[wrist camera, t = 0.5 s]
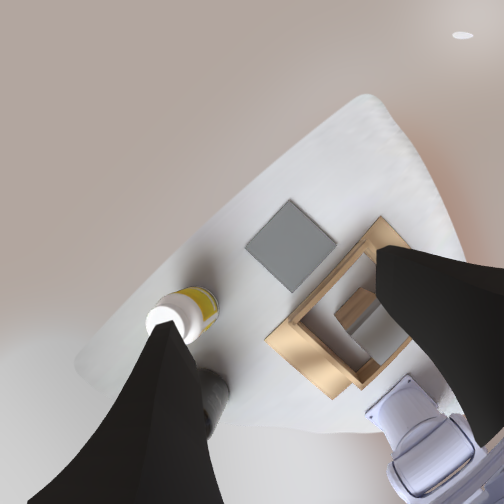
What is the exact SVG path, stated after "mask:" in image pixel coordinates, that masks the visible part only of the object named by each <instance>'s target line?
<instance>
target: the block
mask: <svg viewBox="0 0 504 504" xmlns="http://www.w3.org/2000/svg"><path fill="white" fill-rule="evenodd" d="M334 316H335V317H336V318H337V320H338V321H339V322H340V324H341V325H342V326H343V327H344V329H345V330H346V331H347V333H348V334H349V335H350V337H351V338H352V339H354V340H355V341H356V342H357V343H358V344H359V345H360V346H361V347H362V348H363V349H364V350H365V351H366V352H367V353H368V354H369V355H370V356H371V357H372V358H373V359H374V360H375V361H376V362H377V363H378V364H379V365H380V366H381V365H382V364H383V363H384V362H385V361H386V360H387V359H388V358H389V357H390V356H391V355H392V354H393V353H394V352H395V351H396V350H397V349H398V348H399V347H400V345H401V344H402V343H403V342H404V341H405V340H406V339H407V338H408V337H409V335H408V334H407V333H406V332H405V331H404V330H403V329H402V328H401V327H400V326H399V325H398V324H397V323H396V322H395V321H394V319H393V318H392V317H391V316H390V315H389V314H388V312H387V311H386V310H385V309H384V307H383V306H382V304H381V303H380V302H379V300H378V299H377V297H376V294H375V293H372V292H370V291H368V290H366V289H363V288H361V287H360V288H359V289H358V290H357V291H356V292H355V293H354V294H353V295H352V297H351V298H350V299H349V300H348V301H347V302H346V303H345V304H344V305H343V306H342V307H341V308H340V309H339V310H338V311H337V312H336V313H335V314H334Z"/></svg>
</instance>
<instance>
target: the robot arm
mask: <svg viewBox="0 0 504 504" xmlns="http://www.w3.org/2000/svg"><path fill="white" fill-rule="evenodd" d="M376 297H377V299H378V300H379V302H380V303H381V304H382V306H383V307H384V309H385V310H386V311H387V312H388V314H389V315H390V316H391V317H392V318H393V319H394V321H395V322H396V323H397V324H398V325H399V326H400V327H401V328H402V329H403V330H404V331H405V332H406V333H407V334H408V335H409V336H410V337H411V338H412V339H413V340H414V341H415V342H416V343H417V344H418V345H419V346H420V348H421V349H422V350H423V351H424V352H425V353H426V354H427V355H428V356H429V357H430V359H431V360H432V361H433V362H434V364H435V365H436V367H437V368H438V369H439V371H440V372H441V374H442V375H443V377H444V378H445V380H446V381H447V383H448V385H449V386H450V388H451V389H452V391H453V393H454V394H455V396H456V398H457V400H458V402H459V404H460V406H461V408H462V410H463V412H464V414H465V416H466V418H467V420H466V419H465V418H464V417H463V416H462V415H461V414H459V413H457V414H455V413H452V414H451V415H450V416H449V418H450V419H449V418H448V417H447V416H446V415H445V414H444V413H442V414H441V413H440V412H439V411H438V410H437V408H438V405H437V404H436V403H435V402H434V401H433V400H432V399H431V398H430V396H429V395H428V394H427V393H426V392H425V391H424V390H423V389H422V388H421V387H420V386H419V385H418V384H417V383H416V382H415V381H414V380H413V379H412V378H411V377H410V376H409V375H406V376H405V377H404V378H403V379H402V380H401V381H400V382H399V383H398V384H397V385H396V386H395V387H394V388H393V389H392V390H391V391H390V392H389V393H388V394H387V395H385V396H384V397H383V398H382V399H381V400H380V401H379V402H378V403H377V404H376V405H374V406H373V407H372V408H371V409H370V410H369V411H368V412H366V413H365V417H366V418H367V419H368V420H370V421H371V422H372V423H373V424H375V425H376V426H377V427H378V428H380V429H381V430H382V431H383V432H384V434H385V435H386V438H387V440H388V442H389V444H390V445H391V447H392V450H393V453H392V454H391V456H392V457H393V460H394V461H392V462H390V463H389V464H388V467H387V471H386V472H387V476H388V478H389V481H390V483H391V485H392V486H393V488H394V490H395V491H396V492H397V494H398V495H399V496H400V497H401V498H402V499H403V500H404V501H405V502H406V503H407V504H504V438H503V439H502V440H501V441H500V442H499V443H498V444H497V445H496V446H495V447H494V448H493V449H492V450H491V452H489V453H488V454H487V452H488V451H487V448H486V447H485V445H486V444H487V443H488V442H489V441H490V440H491V439H492V438H493V437H494V436H495V435H496V434H497V433H498V432H499V431H500V430H501V429H502V428H503V427H504V269H503V268H495V267H488V266H481V265H476V264H470V263H466V262H462V261H457V260H453V259H449V258H445V257H441V256H437V255H433V254H429V253H425V252H421V251H417V250H413V249H409V248H405V247H400V246H394V245H388V246H385V247H383V248H380V249H377V250H376ZM409 380H410V381H409ZM408 381H409V382H408ZM370 416H372V417H370ZM469 458H471V459H470V461H469V462H468V463H467V465H465V466H464V467H463V468H462V469H461V470H460V471H458V472H457V473H456V474H455V475H453V476H452V477H451V478H450V479H448V480H447V481H446V482H444V483H443V484H442V485H440V486H439V487H437V488H436V489H435V490H433V491H431V492H429V493H427V494H424V493H425V492H427V491H428V490H430V489H431V488H433V487H434V486H436V485H437V484H438V483H440V482H441V481H442V480H444V479H445V478H446V477H448V476H449V475H450V474H451V473H453V472H454V471H455V470H456V469H458V468H459V467H460V466H461V465H462V464H464V463H465V462H466V461H467V460H468V459H469ZM486 482H487V483H486ZM485 483H486V484H485ZM484 484H485V486H484V488H485V491H483V490H482V489H481V487H482V486H483V485H484ZM27 504H224V502H223V499H222V496H221V493H220V491H219V487H218V484H217V481H216V478H215V475H214V471H213V467H212V463H211V460H210V456H209V450H208V445H207V436H206V428H205V420H204V410H203V401H202V392H201V385H200V381H199V376H198V372H197V367H196V363H195V361H194V359H193V357H192V355H191V353H190V351H189V350H188V348H187V346H186V344H185V342H184V340H183V338H182V337H181V335H180V333H179V331H178V329H177V327H176V325H175V323H174V321H173V320H170V321H167V322H164V323H160V324H157V325H155V327H154V329H153V330H152V332H151V334H150V336H149V338H148V340H147V342H146V344H145V346H144V348H143V350H142V353H141V355H140V357H139V359H138V361H137V363H136V364H135V366H134V368H133V370H132V372H131V374H130V376H129V378H128V380H127V381H126V383H125V385H124V387H123V389H122V390H121V392H120V394H119V396H118V398H117V399H116V401H115V403H114V404H113V406H112V408H111V409H110V411H109V412H108V414H107V415H106V417H105V418H104V420H103V421H102V423H101V424H100V426H99V427H98V429H97V430H96V431H95V433H94V434H93V435H92V436H91V438H90V439H89V440H88V442H87V443H86V444H85V445H84V447H83V448H82V449H81V450H80V452H79V453H78V454H77V455H76V456H75V458H74V459H73V460H72V461H71V462H70V463H69V464H68V465H67V466H66V467H65V468H64V469H63V470H62V471H61V473H59V474H58V475H57V477H55V478H54V479H53V480H52V481H51V482H50V483H49V484H48V485H46V486H45V487H44V488H43V489H42V490H40V491H39V492H38V493H37V494H36V495H34V496H33V497H32V498H31V499H29V500H28V502H27Z"/></svg>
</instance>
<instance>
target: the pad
mask: <svg viewBox="0 0 504 504" xmlns="http://www.w3.org/2000/svg"><path fill="white" fill-rule="evenodd" d="M336 246H337V245H336V244H335V243H334V242H333V241H332V240H331V239H330V238H329V237H328V236H327V235H326V234H325V233H324V232H323V231H322V230H321V229H320V228H318V227H317V226H316V225H315V224H314V223H313V222H312V221H311V220H310V219H309V218H308V217H307V216H306V215H305V214H303V213H302V212H301V211H300V210H299V209H298V208H297V207H296V206H295V205H294V204H293V203H291V202H290V201H288V202H287V203H286V204H285V205H284V207H283V208H282V209H281V210H280V211H279V212H278V213H277V214H276V215H275V216H274V217H273V218H272V219H271V220H270V221H269V223H268V224H267V225H266V226H265V227H264V228H263V229H262V230H261V231H260V232H259V233H258V234H257V235H256V236H255V237H254V239H253V240H252V241H251V242H250V243H249V244H248V245H247V246H246V247H245V249H246V250H247V251H248V252H249V253H250V254H251V255H252V256H253V257H254V258H255V259H257V260H258V261H259V262H260V263H261V264H262V265H263V266H264V267H265V268H266V269H267V270H268V271H269V272H270V273H271V274H272V275H273V276H274V277H275V278H276V279H278V280H279V281H280V282H281V283H282V284H283V285H284V286H285V287H286V288H287V289H288V290H289V291H290V292H291V293H293V292H294V291H295V290H296V289H297V288H298V287H299V286H300V285H301V284H302V283H303V281H304V280H305V279H306V278H307V277H308V276H309V275H310V274H311V273H312V272H313V271H314V270H315V269H316V268H317V267H318V266H319V264H320V263H321V262H322V261H323V260H324V259H325V258H326V257H327V256H328V255H329V254H330V253H331V251H332V250H333V249H334V248H335V247H336Z"/></svg>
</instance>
